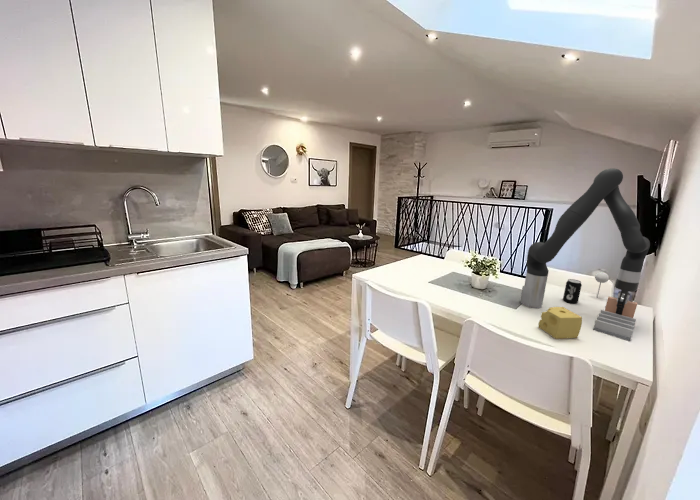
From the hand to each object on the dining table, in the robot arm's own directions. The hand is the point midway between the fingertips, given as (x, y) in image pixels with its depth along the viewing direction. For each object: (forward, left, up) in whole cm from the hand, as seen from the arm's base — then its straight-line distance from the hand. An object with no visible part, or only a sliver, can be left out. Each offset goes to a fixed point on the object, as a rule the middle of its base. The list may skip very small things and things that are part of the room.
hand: (618, 313), depth 135 cm
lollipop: (+16, +23, -3) cm, 28 cm away
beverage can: (-4, +21, -3) cm, 22 cm away
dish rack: (-11, -7, -3) cm, 13 cm away
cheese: (-39, -6, -3) cm, 39 cm away
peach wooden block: (0, 0, -3) cm, 3 cm away
